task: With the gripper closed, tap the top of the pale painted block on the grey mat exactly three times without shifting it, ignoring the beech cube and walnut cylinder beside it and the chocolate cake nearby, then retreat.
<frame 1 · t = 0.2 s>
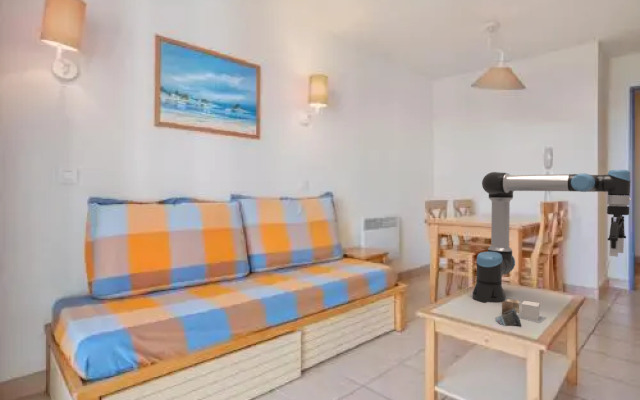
hand: (616, 254, 161), 28 cm above the table, fingers open, 13 cm apart
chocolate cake: (504, 324, 154), on the table
beech cube: (512, 312, 168), on the table
plain block: (530, 317, 159), point 1 cm above the table, touching mat
mat: (530, 318, 159), on the table
walnut cylinder: (507, 316, 162), on the table
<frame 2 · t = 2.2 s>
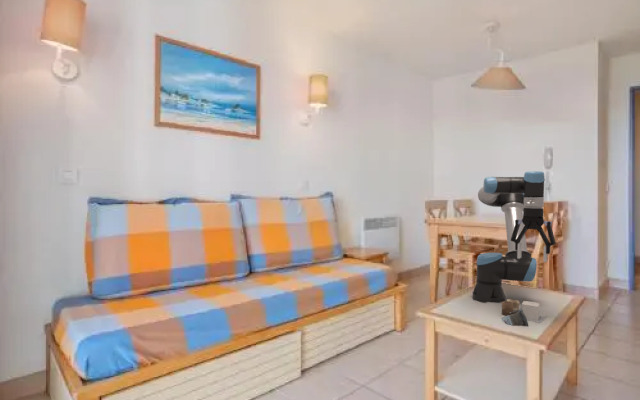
hand: (532, 259, 159), 26 cm above the table, fingers open, 9 cm apart
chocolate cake: (510, 324, 154), on the table
everything else where it was.
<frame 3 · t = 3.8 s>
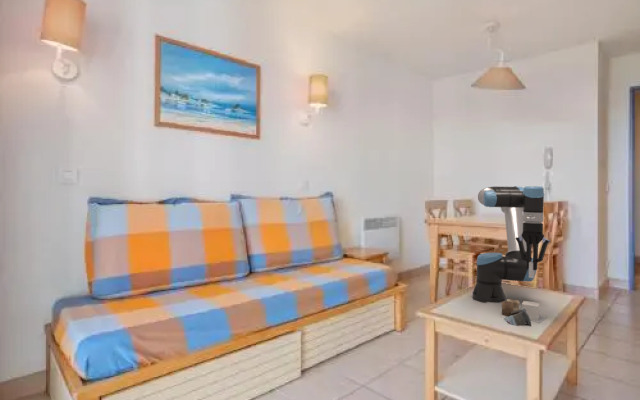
hand: (531, 277, 159), 18 cm above the table, fingers closed
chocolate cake: (513, 323, 154), on the table
everything else where it was.
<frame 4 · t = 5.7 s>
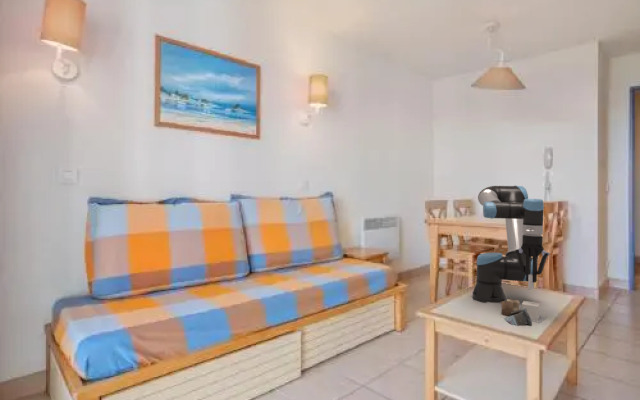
hand: (531, 289, 159), 13 cm above the table, fingers closed
nothing on the table moved.
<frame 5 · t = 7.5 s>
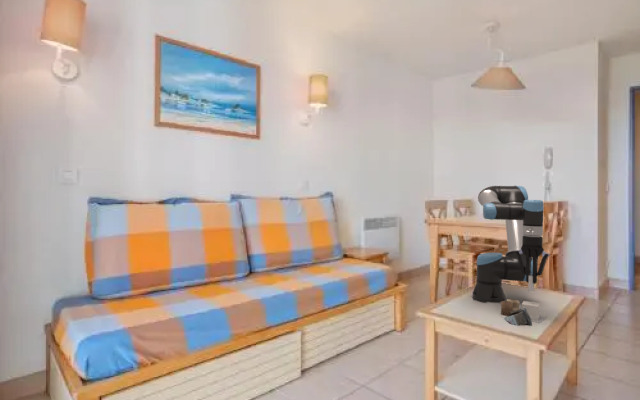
hand: (531, 290, 159), 12 cm above the table, fingers closed
nothing on the table moved.
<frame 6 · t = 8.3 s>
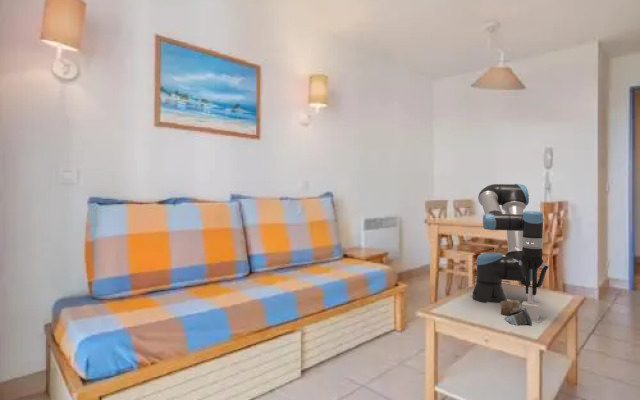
hand: (530, 301, 159), 7 cm above the table, fingers closed
nothing on the table moved.
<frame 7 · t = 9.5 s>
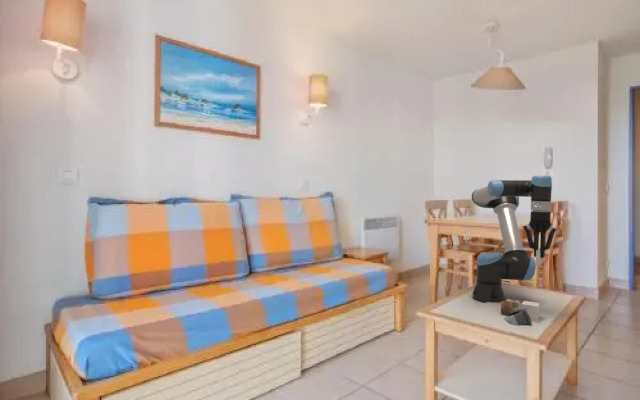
hand: (538, 264, 162), 23 cm above the table, fingers closed
nothing on the table moved.
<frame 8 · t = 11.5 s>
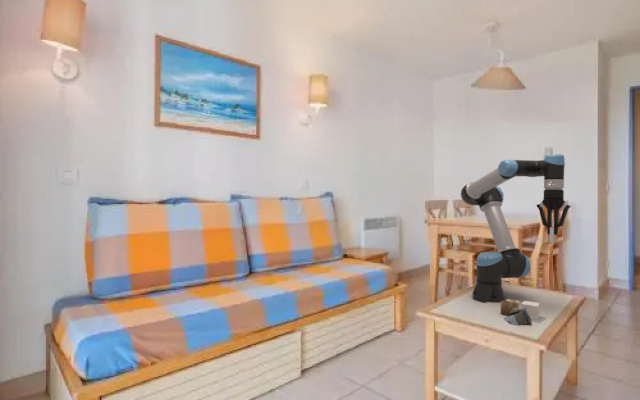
hand: (552, 241, 165), 32 cm above the table, fingers closed
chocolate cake: (513, 323, 155), on the table, touching mat
everything else where it was.
at the end: plain block moved 0.0 cm from its start; plain block tilted 0°; plain block touching mat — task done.
